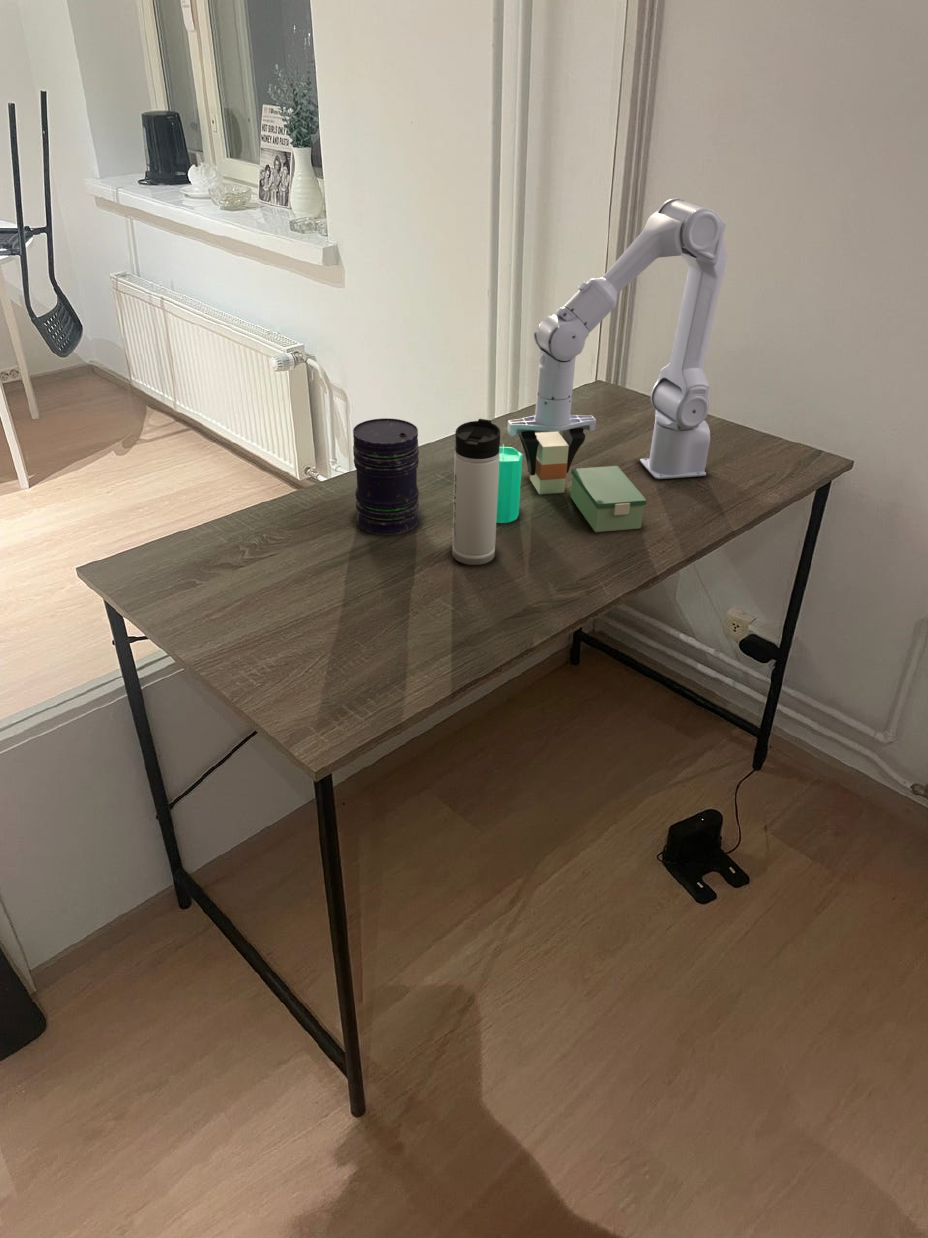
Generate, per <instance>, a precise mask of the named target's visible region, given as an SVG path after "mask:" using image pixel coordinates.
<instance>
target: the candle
mask: <svg viewBox="0 0 928 1238" xmlns="http://www.w3.org/2000/svg"><path fill="white" fill-rule="evenodd" d="M499 456H500V458H499V478H498V498H497V518H496V524H506V523H507V524H508V523H511V522H515V521H516V520H517V519H518V517H519V515H520V504H521V503H520V502H521V500H520V499H521V486H522V484H521V483H522V469H523V453H521V452H520V451H519V450H518V449H516V448H514V447H512V446H505V444H504V443H503V444H502V446H500V455H499Z"/></svg>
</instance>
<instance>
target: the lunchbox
mask: <svg viewBox="0 0 928 1238" xmlns="http://www.w3.org/2000/svg"><path fill="white" fill-rule="evenodd" d="M570 474H571V475H572V478H571V488H570V498H571V500H572V502H573V503H574V504H575V506H576V508H578V510H579V511H580V513H581V514H582V515H583V517H584V519H585V520H586V521H587V523H588V524H589V525H590V527H591V528H592V530H593V531H594V533H603V532H614V531H625V530H627V531H628V530H639V529H642V524H643V523H642V522H643V515H644V510H645V506H646V505H647V503H648V502H647V500H648V499H646V498H645V497H644V495H643V494H642V492H640V491H639V489H638V488H637V487H636V486H635V485H634V484H633V482H632V481H631V480H630V479H629V478H628V477H627V475H626V474H625V472H624V471H622V469H621V468H620V467H619V466H618V465H610V466H596V467H595V466H594V467H593V466H592V467H581V468H571V472H570Z"/></svg>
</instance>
